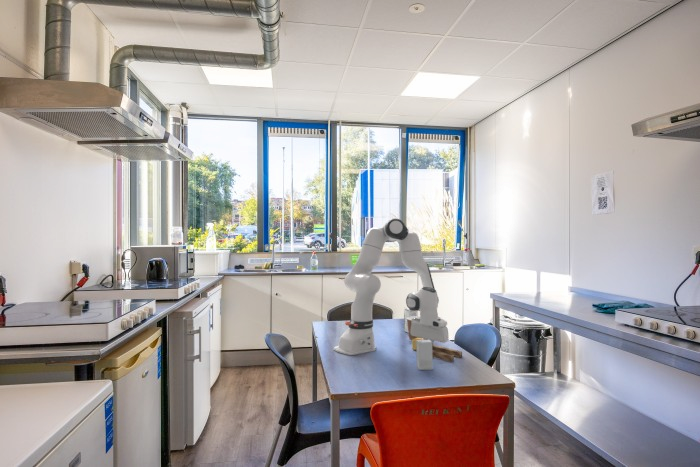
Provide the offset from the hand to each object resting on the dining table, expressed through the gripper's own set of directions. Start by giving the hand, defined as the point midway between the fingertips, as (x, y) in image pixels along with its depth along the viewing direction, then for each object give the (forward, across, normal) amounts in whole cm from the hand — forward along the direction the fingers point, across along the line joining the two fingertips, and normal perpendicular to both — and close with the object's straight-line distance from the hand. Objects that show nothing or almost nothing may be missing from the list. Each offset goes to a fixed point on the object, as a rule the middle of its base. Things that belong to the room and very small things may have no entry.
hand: (428, 347), depth 183 cm
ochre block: (+2, -5, 0) cm, 6 cm away
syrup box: (+2, -30, +26) cm, 40 cm away
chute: (+2, +7, 0) cm, 8 cm away
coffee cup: (+2, -18, +15) cm, 23 cm away
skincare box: (+2, +11, -21) cm, 24 cm away
